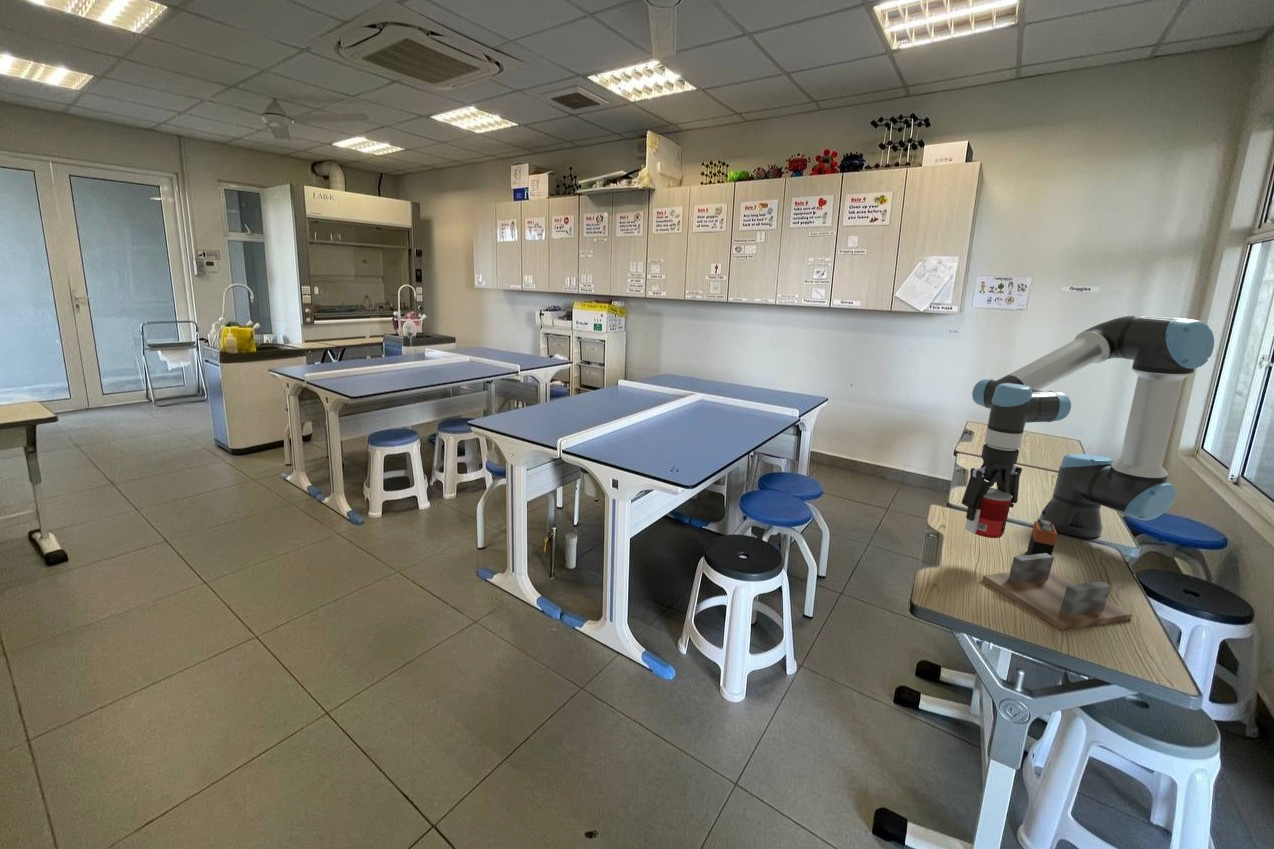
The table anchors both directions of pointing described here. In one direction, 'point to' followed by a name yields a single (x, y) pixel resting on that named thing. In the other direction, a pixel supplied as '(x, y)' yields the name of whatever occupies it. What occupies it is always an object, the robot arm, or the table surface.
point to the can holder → (1056, 594)
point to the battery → (1042, 538)
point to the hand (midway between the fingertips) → (983, 529)
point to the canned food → (993, 513)
